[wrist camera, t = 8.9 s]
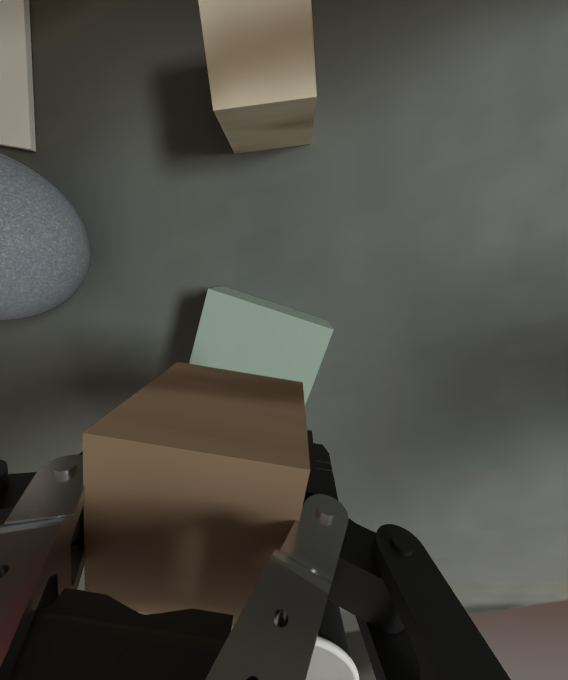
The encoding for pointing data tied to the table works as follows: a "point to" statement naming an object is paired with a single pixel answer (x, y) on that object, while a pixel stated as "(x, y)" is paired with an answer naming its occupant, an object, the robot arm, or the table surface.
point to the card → (16, 76)
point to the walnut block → (193, 488)
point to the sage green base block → (259, 338)
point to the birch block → (261, 71)
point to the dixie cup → (331, 650)
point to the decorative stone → (37, 243)
